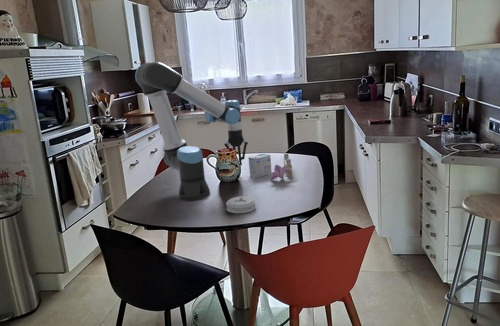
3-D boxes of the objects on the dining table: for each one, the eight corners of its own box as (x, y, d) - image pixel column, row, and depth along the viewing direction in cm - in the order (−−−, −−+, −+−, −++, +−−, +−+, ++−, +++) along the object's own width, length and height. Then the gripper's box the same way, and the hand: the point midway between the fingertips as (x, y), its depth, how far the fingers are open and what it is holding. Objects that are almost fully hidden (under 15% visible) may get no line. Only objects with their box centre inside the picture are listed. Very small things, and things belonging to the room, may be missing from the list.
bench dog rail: (292, 176, 226) (291, 159, 223) (286, 176, 226) (285, 160, 223) (289, 168, 241) (288, 153, 239) (284, 169, 241) (283, 153, 239)
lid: (249, 202, 190) (248, 192, 189) (260, 211, 179) (260, 200, 178) (222, 208, 186) (221, 197, 185) (232, 217, 174) (231, 206, 173)
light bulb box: (264, 171, 239) (263, 152, 237) (272, 173, 234) (270, 154, 231) (249, 175, 233) (247, 156, 230) (257, 178, 228) (255, 158, 225)
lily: (295, 180, 221) (289, 163, 223) (294, 178, 209) (287, 160, 211) (274, 189, 222) (267, 172, 224) (271, 186, 211) (264, 169, 213)
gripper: (247, 127, 231) (250, 169, 237) (223, 129, 231) (227, 171, 237) (247, 129, 224) (250, 172, 229) (222, 131, 224) (226, 174, 230)
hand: (238, 171), depth 233 cm, fingers closed
